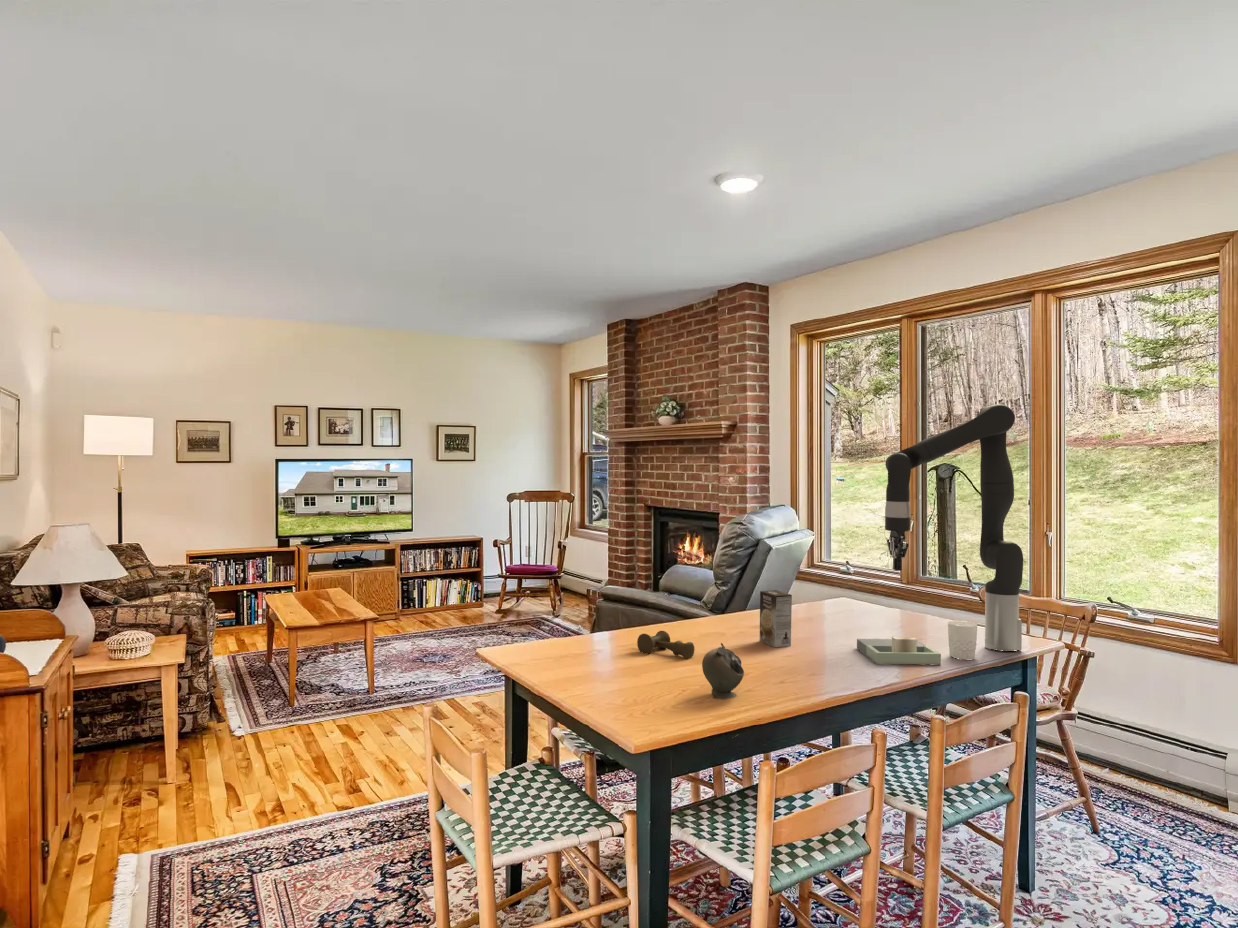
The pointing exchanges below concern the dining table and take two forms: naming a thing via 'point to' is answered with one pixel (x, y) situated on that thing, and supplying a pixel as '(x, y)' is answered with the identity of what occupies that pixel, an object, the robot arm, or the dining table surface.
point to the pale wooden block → (904, 644)
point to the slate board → (882, 645)
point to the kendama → (664, 644)
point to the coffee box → (775, 618)
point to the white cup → (962, 639)
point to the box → (904, 656)
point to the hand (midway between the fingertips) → (897, 570)
